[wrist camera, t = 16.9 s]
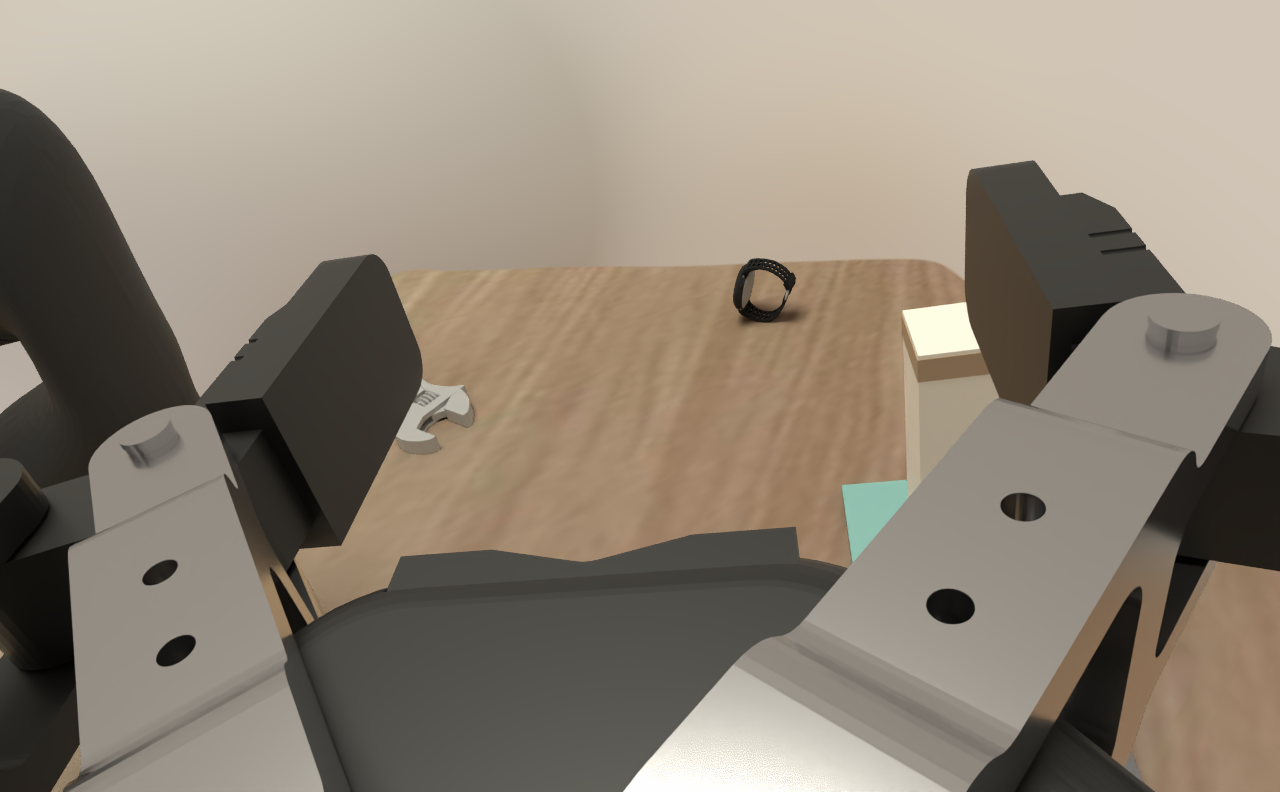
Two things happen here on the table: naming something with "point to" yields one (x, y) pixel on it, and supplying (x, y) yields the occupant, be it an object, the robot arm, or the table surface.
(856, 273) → the table surface
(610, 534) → the table surface
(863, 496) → the mat
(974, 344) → the post
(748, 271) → the smartwatch
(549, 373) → the table surface
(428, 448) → the adjustable wrench
